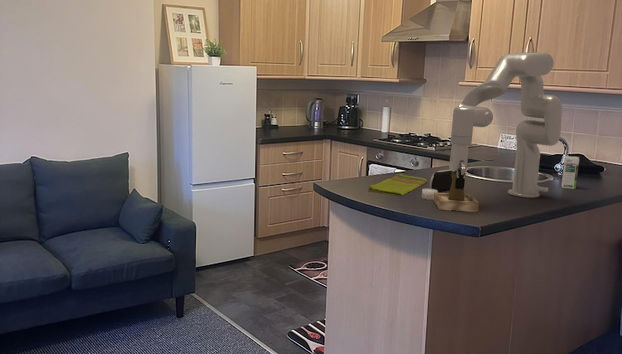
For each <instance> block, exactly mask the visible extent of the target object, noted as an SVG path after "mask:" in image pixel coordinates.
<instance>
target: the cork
mask: <svg viewBox="0 0 622 354" xmlns="http://www.w3.org/2000/svg"><path fill="white" fill-rule="evenodd" d="M451 178H452V184H451V188H450V190H449V192H448V193H449V197H448V200H455V201H464V194H465V188H464V189H455V181H456V178H457V172H456V171H455V172H452V174H451ZM465 178H466V173H465Z"/></svg>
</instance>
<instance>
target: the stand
mask: <svg viewBox="0 0 622 354" xmlns="http://www.w3.org/2000/svg"><path fill="white" fill-rule="evenodd" d="M448 197H449V192H438V193H434V200H433V203H434V202H435V203H434V204H435V206H436V205H437V206H436V207H437V209H438V210H439V211H451V210H456V212H469V213H472V212H473V213H479V207H480V203H479V201H478V199H476V198H475V197H474V196H473V195H472V194H467V193H466V194H465V193H464V201H455V200H448Z"/></svg>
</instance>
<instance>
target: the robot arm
mask: <svg viewBox="0 0 622 354" xmlns="http://www.w3.org/2000/svg"><path fill="white" fill-rule="evenodd" d="M554 62H555V61H554V57H553V56H552V55H551V54H550V53H548V52H517V53H508V54H507V53H506V54H504V55H502V56H501V57H500V58H499V59H498V60H497V62H496V63H495V65H494V67H493V68H492V70H491V72H490V73H489V75H488V77H486V79H485V80H484V82H482V83H481V84H479V85H477V86H475V88H473V89H471V90H470V91H469V92H467V93H466V94H465V95H463V97H462V99H461V100H460V101H459V103H458V104H457V106H456V107H454V109H453V112H452V122H451V123H452V124H451V134H450V135H451V136H450V145H451V150H450V156H449V157H450V158H449V164H448V167H449V170H450V169H451V170H452V172H455V171H456V172H457V178H456V181H455V189H464V190H465V182H466V177H465V174H466V172H467V168H468V162H469V161H468V160H469V147H470V146H472V143H473V141H472V140H473V132H474V127H476V128H485V127H488V126H489V125H491V123H492V122H493V121H494V113H493V111H492V110H491V109H490V108H488V107H484V106H478V105H480V104H482V103H484V102H486V101H489V100H493V99H495V98H498V97H502V96H503V95H504V94H505V93H506V91H507V90H508V88H509V86H510V85H511V84H512V82H513V80H514V78H516V77H518V79H519V81H520V112H521V114H522V115H523V116H525V117H529V118H536V119H544V120H533V119H524V120H522V121H520V122H519V123H518V124H517V126H516V128H515V137H516V138H515V139H516V150H515V152H516V153H515V162H514V170H513V171H514V172H513V179H512V189H511V188H509V189H508V190H507V194H508V195H511V196H515V197H520V198H531V199H533V198H535V199H536V198H539V197H540V193H541V192H543V193H548V192H549V187H543V186H540V185H538V177H539V169H540V159H541V152H540V149H539V146H538V145H540V146H541V145H542V146H548V147H549V146H555V145H556V144H558V143H559V141H560V139H561V134H562V133H561V131H562V116H563V115H562V113H563V105H562V102H561V101H562V100H561V99H560V98H559V97H558V96H556V95H552V94H545V93H544V79H543V77H542V76H546V75H548V74H549V73H550V72H551V71H552V70H553V68H554V64H555V63H554ZM451 174H452V173H451ZM450 183H451V184H452V178H451V181H450Z"/></svg>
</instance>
